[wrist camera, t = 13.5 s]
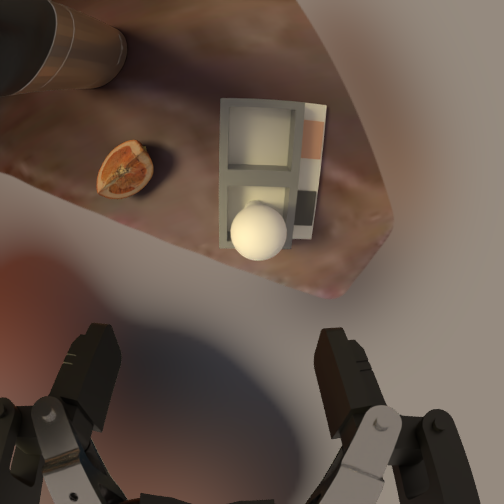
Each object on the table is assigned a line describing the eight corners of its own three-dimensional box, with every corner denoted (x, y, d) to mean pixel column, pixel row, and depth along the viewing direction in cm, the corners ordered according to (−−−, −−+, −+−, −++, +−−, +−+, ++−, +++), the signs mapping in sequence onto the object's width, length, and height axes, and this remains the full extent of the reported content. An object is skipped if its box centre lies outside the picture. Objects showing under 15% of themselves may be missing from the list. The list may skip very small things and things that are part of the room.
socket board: (220, 235, 42) (219, 248, 38) (222, 98, 32) (220, 98, 29) (309, 236, 43) (316, 249, 39) (324, 105, 33) (334, 106, 30)
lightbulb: (269, 179, 37) (283, 210, 28) (281, 220, 40) (296, 262, 31) (224, 193, 38) (222, 228, 28) (238, 232, 41) (241, 278, 31)
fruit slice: (140, 126, 33) (127, 131, 29) (170, 165, 36) (161, 174, 32) (98, 165, 35) (82, 175, 31) (126, 200, 38) (114, 214, 34)
